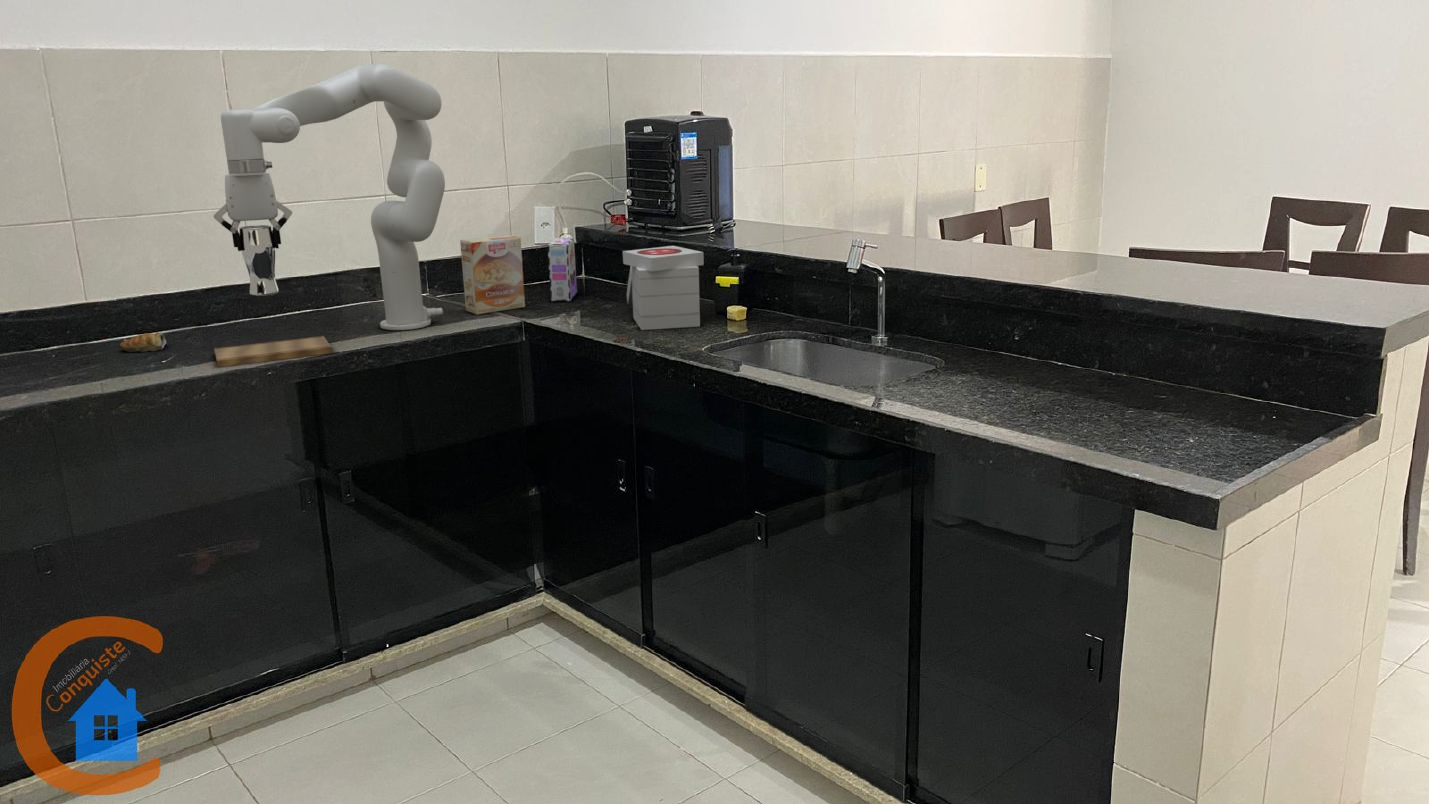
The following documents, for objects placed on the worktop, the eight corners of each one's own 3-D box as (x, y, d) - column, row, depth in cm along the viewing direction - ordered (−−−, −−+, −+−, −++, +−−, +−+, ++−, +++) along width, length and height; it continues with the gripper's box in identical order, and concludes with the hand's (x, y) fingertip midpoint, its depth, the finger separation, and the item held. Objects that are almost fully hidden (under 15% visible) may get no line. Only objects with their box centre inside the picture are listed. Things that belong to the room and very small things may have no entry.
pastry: (118, 354, 238) (115, 338, 237) (124, 348, 244) (122, 332, 243) (163, 350, 241) (160, 334, 240) (168, 344, 247) (165, 329, 246)
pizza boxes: (687, 304, 282) (685, 239, 277) (709, 327, 254) (707, 255, 249) (618, 308, 278) (615, 242, 273) (632, 332, 250) (629, 259, 245)
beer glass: (268, 296, 228) (259, 228, 223) (241, 295, 229) (231, 228, 225) (287, 290, 234) (278, 225, 230) (260, 290, 236) (251, 224, 231)
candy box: (571, 301, 289) (567, 243, 284) (550, 302, 289) (546, 243, 284) (577, 292, 302) (574, 236, 297) (558, 293, 302) (554, 237, 297)
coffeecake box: (476, 315, 274) (470, 242, 268) (465, 311, 279) (458, 239, 273) (526, 307, 283) (521, 236, 277) (514, 303, 288) (508, 234, 282)
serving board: (324, 341, 246) (323, 335, 246) (332, 353, 235) (331, 346, 235) (215, 354, 236) (214, 348, 235) (218, 367, 225) (216, 360, 224)
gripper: (287, 165, 231) (297, 244, 236) (202, 168, 223) (214, 250, 228) (290, 167, 224) (301, 248, 229) (203, 170, 217) (216, 254, 222)
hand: (258, 248), depth 229 cm, fingers closed on beer glass, 7 cm apart
